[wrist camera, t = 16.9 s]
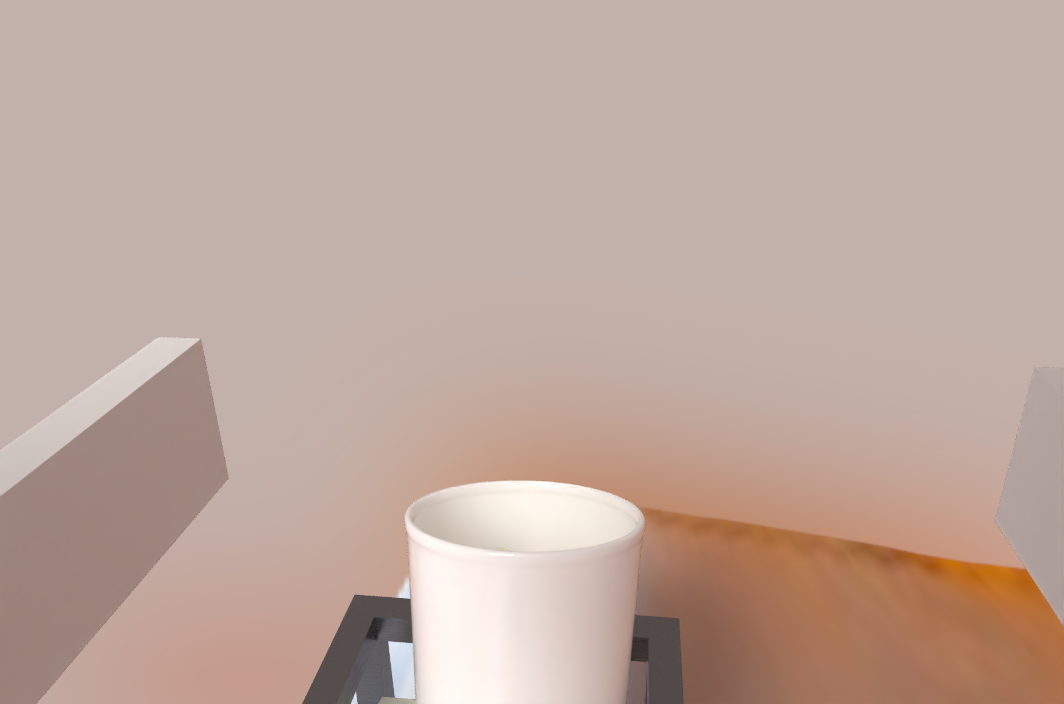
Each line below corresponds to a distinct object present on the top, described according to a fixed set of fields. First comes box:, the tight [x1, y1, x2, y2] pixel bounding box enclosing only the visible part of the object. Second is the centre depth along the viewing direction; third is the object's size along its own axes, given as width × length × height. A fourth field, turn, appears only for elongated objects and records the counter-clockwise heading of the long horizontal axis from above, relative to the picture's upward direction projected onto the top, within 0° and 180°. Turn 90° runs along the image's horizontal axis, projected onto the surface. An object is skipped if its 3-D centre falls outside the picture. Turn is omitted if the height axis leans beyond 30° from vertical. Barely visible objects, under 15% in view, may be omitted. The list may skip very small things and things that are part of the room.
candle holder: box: [404, 481, 645, 704], centre depth 34 cm, size 10×10×12 cm
